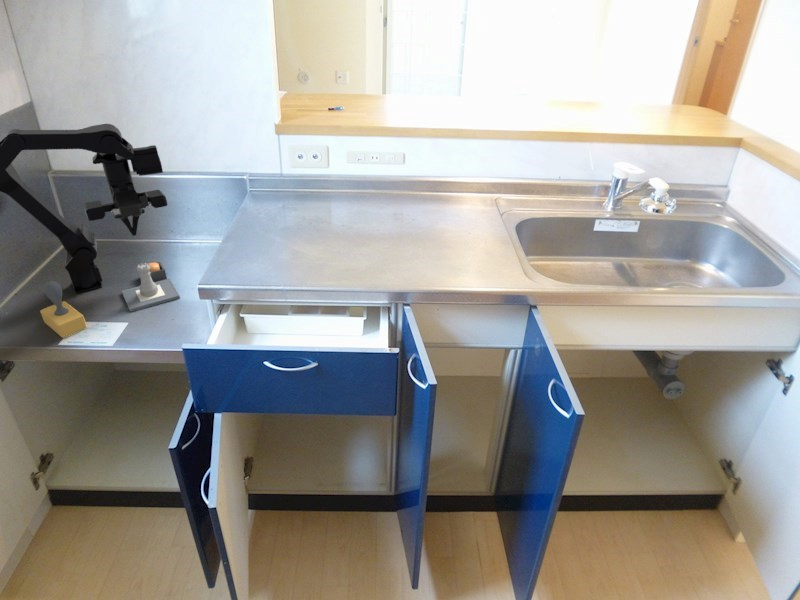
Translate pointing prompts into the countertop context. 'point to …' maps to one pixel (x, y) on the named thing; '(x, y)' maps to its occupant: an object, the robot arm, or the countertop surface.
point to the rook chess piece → (146, 281)
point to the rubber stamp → (61, 312)
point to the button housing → (158, 274)
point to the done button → (153, 267)
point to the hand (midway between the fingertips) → (134, 235)
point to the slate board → (139, 301)
